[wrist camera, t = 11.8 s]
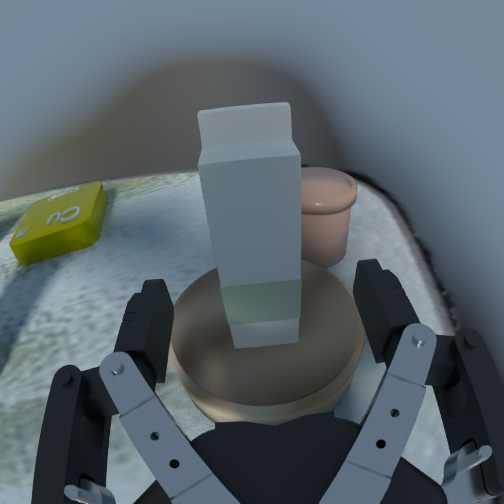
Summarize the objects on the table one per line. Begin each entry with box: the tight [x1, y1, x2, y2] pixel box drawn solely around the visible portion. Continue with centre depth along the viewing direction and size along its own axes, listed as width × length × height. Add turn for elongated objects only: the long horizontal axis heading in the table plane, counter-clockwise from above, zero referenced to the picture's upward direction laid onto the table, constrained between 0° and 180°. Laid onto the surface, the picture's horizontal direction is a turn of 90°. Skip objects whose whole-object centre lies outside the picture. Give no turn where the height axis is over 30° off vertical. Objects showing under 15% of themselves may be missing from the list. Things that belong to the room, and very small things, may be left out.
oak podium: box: [168, 260, 365, 425], centre depth 22 cm, size 14×14×5 cm
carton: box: [197, 102, 302, 349], centre depth 17 cm, size 4×5×14 cm
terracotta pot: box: [301, 167, 357, 268], centre depth 32 cm, size 8×8×8 cm
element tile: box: [10, 181, 108, 266], centre depth 42 cm, size 15×15×5 cm
